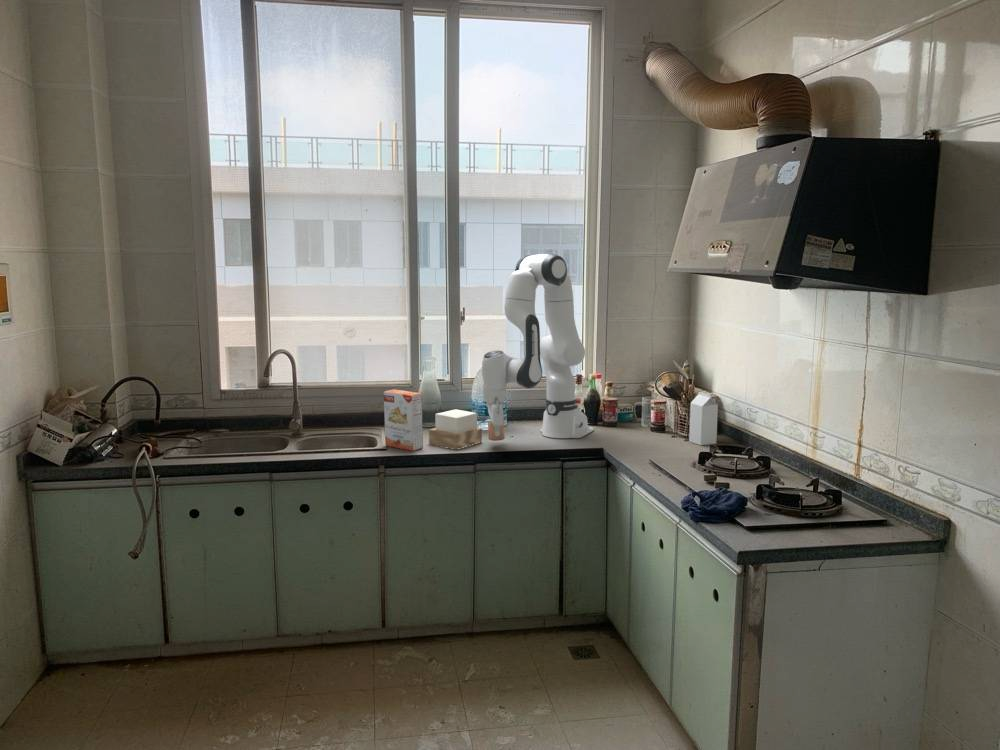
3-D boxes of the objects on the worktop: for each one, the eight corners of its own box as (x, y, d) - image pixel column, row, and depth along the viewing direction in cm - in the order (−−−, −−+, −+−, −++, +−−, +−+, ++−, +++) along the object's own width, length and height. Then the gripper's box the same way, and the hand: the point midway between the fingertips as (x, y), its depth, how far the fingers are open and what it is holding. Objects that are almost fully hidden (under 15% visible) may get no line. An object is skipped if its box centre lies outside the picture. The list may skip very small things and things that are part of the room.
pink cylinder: (495, 435, 276) (494, 419, 275) (508, 437, 272) (507, 421, 271) (485, 439, 271) (484, 423, 270) (497, 441, 267) (497, 425, 266)
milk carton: (700, 446, 273) (702, 395, 270) (688, 441, 280) (690, 392, 277) (716, 444, 276) (718, 394, 273) (704, 439, 282) (706, 390, 279)
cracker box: (384, 446, 275) (382, 391, 272) (395, 443, 280) (394, 388, 276) (412, 452, 267) (411, 395, 263) (423, 448, 272) (422, 392, 268)
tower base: (454, 438, 288) (454, 423, 287) (481, 443, 280) (481, 428, 279) (429, 445, 278) (428, 429, 277) (456, 451, 269) (456, 435, 268)
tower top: (456, 424, 285) (455, 409, 284) (477, 428, 278) (477, 413, 277) (435, 429, 277) (435, 413, 276) (456, 434, 270) (456, 418, 269)
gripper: (506, 401, 259) (508, 439, 261) (500, 390, 279) (501, 425, 281) (488, 402, 258) (490, 440, 261) (484, 391, 278) (485, 426, 281)
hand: (496, 432), depth 271 cm, fingers closed on pink cylinder, 6 cm apart
